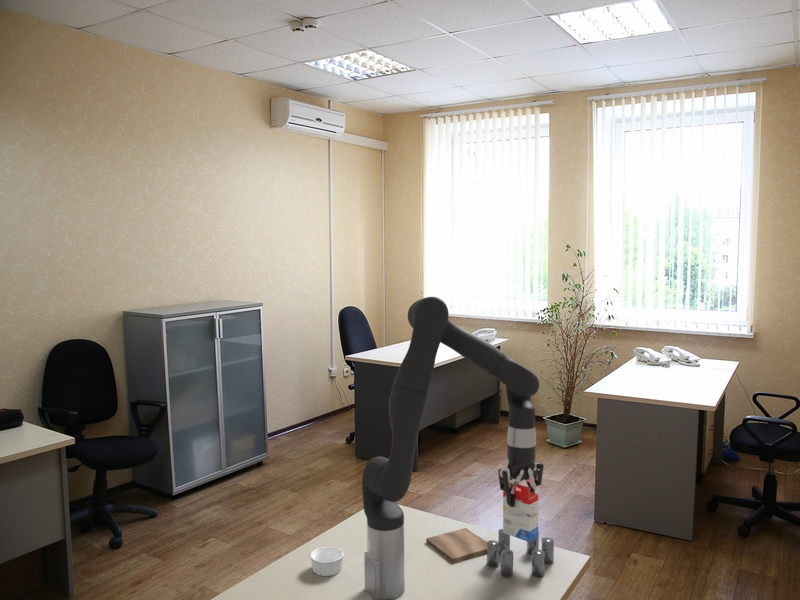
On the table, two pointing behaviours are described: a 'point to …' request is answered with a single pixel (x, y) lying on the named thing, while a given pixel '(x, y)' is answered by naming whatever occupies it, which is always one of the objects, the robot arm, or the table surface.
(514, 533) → the ink box
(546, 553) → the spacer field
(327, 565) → the ramekin
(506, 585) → the table surface
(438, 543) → the walnut board
